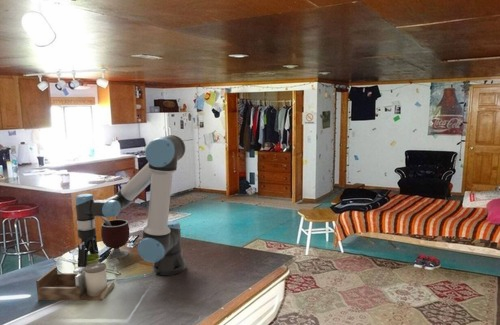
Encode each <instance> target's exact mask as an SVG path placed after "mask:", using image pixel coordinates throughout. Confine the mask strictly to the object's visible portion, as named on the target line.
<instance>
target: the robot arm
mask: <svg viewBox="0 0 500 325" xmlns="http://www.w3.org/2000/svg"><path fill="white" fill-rule="evenodd" d="M185 153H186V144H185V142H184V140H183V139H182V138H181V137H179V136H177V135H172V134H169V135H166V136H159V137H156V138H154V139H152V140H151V141H150V142H148V144H147V146H146V148H145V152H144V154H145V159H146V160H147V163H146V164H144V166H143V167H142V168H141V169H140V170H139V171H138V172H137V173H136V174H135V175H134V176H133V177H131V179H130V180H129V181H127V183H125V185H124V186H122V187H121V189H120V190H118V191H117V192H116V193H115V194H114V195H111V196H109V197H107V198H105V199H97V198H94V195H93V194H92V193H80V194H77V196H75V211H76V212H75V213H76V225H77V237H78V238H79V239H80V240H81V242H80V244H78V245H77V249H78V250H77V251H78V252H77V267H86V263H87V256H88V254H98V255H99V256H100V253H99V248H98V247H99V246H98V242H97V232H96V217H99V218H100V217H104V218H116V217H118V216H119V214H120V213H121V210H124V209H126V208H127V207H129V206H130V205H131V204H132V203H133V202H132V201H133V200H134V199H136V197H138V195H140V194H141V193H142V192H143V191H144V190H145V189H146V188H147V187H148V186H149V185H150V187H149V188H150V189H149V191H150V192H149V201H148V212H147V213H148V214H147V224H146V226H145V227H143V231H142V239H141V240H139V241H138V245H137V253H138V254H139V256H140V257H141V259H142V260H144V261H146V262H147V263H152V264H153V265H152V272H153V273H155V274H156V275H158V276H173V275H178V274H180V273H183V272H184V271H185V270H186V262H185V258H184V256H183V253H182V238H181V234H182V232H181V224H180V223H179V222H178V221H174V220H173V221H172V220H169V215H170V214H169V213H170V203H171V195H172V194H171V193H172V182H173V174H174V173H175V172H176V171H177V167H178V162H179V161H180V160H181V159H182V158H183V157H184V155H185Z"/></svg>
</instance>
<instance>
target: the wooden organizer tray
mask: <svg viewBox="0 0 500 325" xmlns="http://www.w3.org/2000/svg"><path fill="white" fill-rule="evenodd" d="M78 274H79V273H74V272H70V273H69V272H58V266H54V267H52V268H51V269H50V270H48V271H47V272H45V273H44V274H43V275H41V276H40V277H39V278H38V279H37V280H36V281H35V283H36V293H37V294H36V296H37V302H39V301H91V302H92V301H94V302H95V301H97V302H101V301H103V300H104V299H105V298H106V296H107V295H108V294H109V293H110V291H111V290H113V288H114V287H115V285H116V284H115V281H112V280H111V281H110V282H109V284H107V287H106V288H105V290H104V291H103V292H102V293H101V294H100V296H88V295H87V291H86V292H85V293H84V294H83V295H82V296H81V295H80V287H76V282H75V276H76V275H78Z"/></svg>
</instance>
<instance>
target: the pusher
mask: <svg viewBox="0 0 500 325" xmlns="http://www.w3.org/2000/svg"><path fill="white" fill-rule="evenodd" d="M72 273H79V274H78V275H76V276H75V282H76V287H80V295H81V296H82V295H83V294H84V293H85V292H86V291H87V290H86V276H85V267H78V266H77V267H76V268H75V269H73V272H72Z"/></svg>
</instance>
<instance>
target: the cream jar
mask: <svg viewBox="0 0 500 325" xmlns="http://www.w3.org/2000/svg"><path fill="white" fill-rule="evenodd" d="M85 276H86V290H87V295H88V296H100V294H101V293H102V292H103V291H104V290H105V288H106V287H107V285H108V280H107V279H108V278H107V264H106V263H105V262H98V263H92V264H89V265H87V266H86V267H85Z"/></svg>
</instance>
